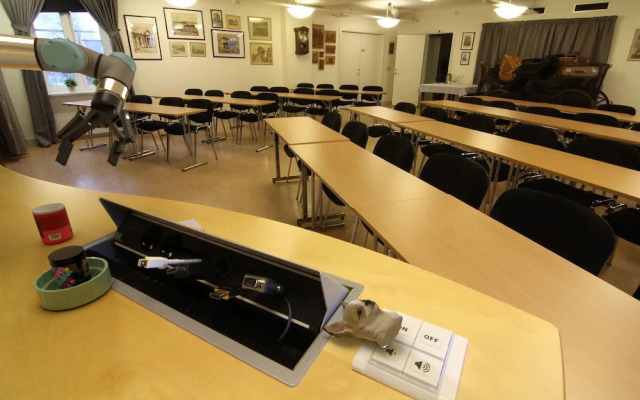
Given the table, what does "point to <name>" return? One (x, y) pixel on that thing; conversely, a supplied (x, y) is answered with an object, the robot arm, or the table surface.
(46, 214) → the canned food
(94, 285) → the bowl
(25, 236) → the table surface
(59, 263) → the supplement container
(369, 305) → the ceramic sculpture
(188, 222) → the charger
